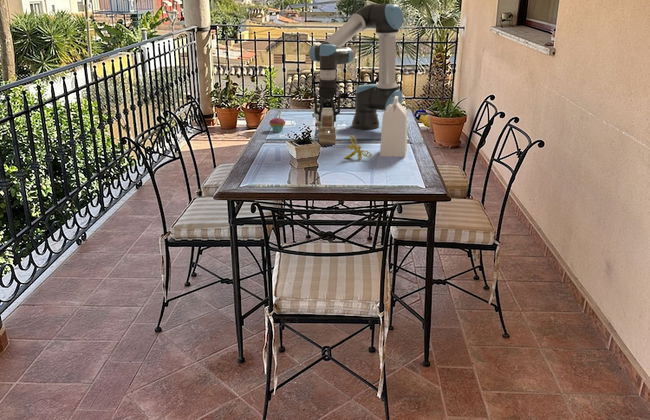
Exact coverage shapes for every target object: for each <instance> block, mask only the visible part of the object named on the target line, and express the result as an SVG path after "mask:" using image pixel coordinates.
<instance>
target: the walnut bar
mask: <svg viewBox="0 0 650 420" xmlns="http://www.w3.org/2000/svg"><path fill="white" fill-rule="evenodd" d="M322 127H332V115H323V117H322Z"/></svg>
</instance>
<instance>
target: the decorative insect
mask: <svg viewBox="0 0 650 420" xmlns="http://www.w3.org/2000/svg"><path fill="white" fill-rule="evenodd" d="M349 139H350V142H351V144H348V145H347V149H349V150H353V151H352V152H351V153H350V154H348V155H345V157H343V159H345V160H347V159H350V158H352V157H354V156H355V155H356V154H357V155H356V156H357V158H358V160H362V158H363V156H364V157H367V158H372V155H373V154H372V153H371V152H370V151H368V150H363V149H362V147H361V146H360V145H358V143H357V142H358V141H357V138H356V137H355V135H353V134H350V136H349ZM361 149H362V150H361ZM362 155H363V156H362Z"/></svg>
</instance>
